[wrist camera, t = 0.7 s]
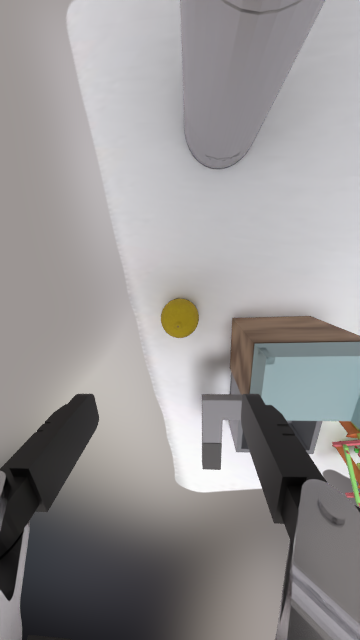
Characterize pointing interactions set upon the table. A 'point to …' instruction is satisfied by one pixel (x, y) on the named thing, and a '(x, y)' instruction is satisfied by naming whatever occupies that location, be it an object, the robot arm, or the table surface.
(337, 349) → the tray
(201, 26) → the robot arm
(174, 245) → the table surface
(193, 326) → the lemon
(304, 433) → the bin
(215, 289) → the table surface
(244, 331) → the pedestal
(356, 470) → the catamaran
